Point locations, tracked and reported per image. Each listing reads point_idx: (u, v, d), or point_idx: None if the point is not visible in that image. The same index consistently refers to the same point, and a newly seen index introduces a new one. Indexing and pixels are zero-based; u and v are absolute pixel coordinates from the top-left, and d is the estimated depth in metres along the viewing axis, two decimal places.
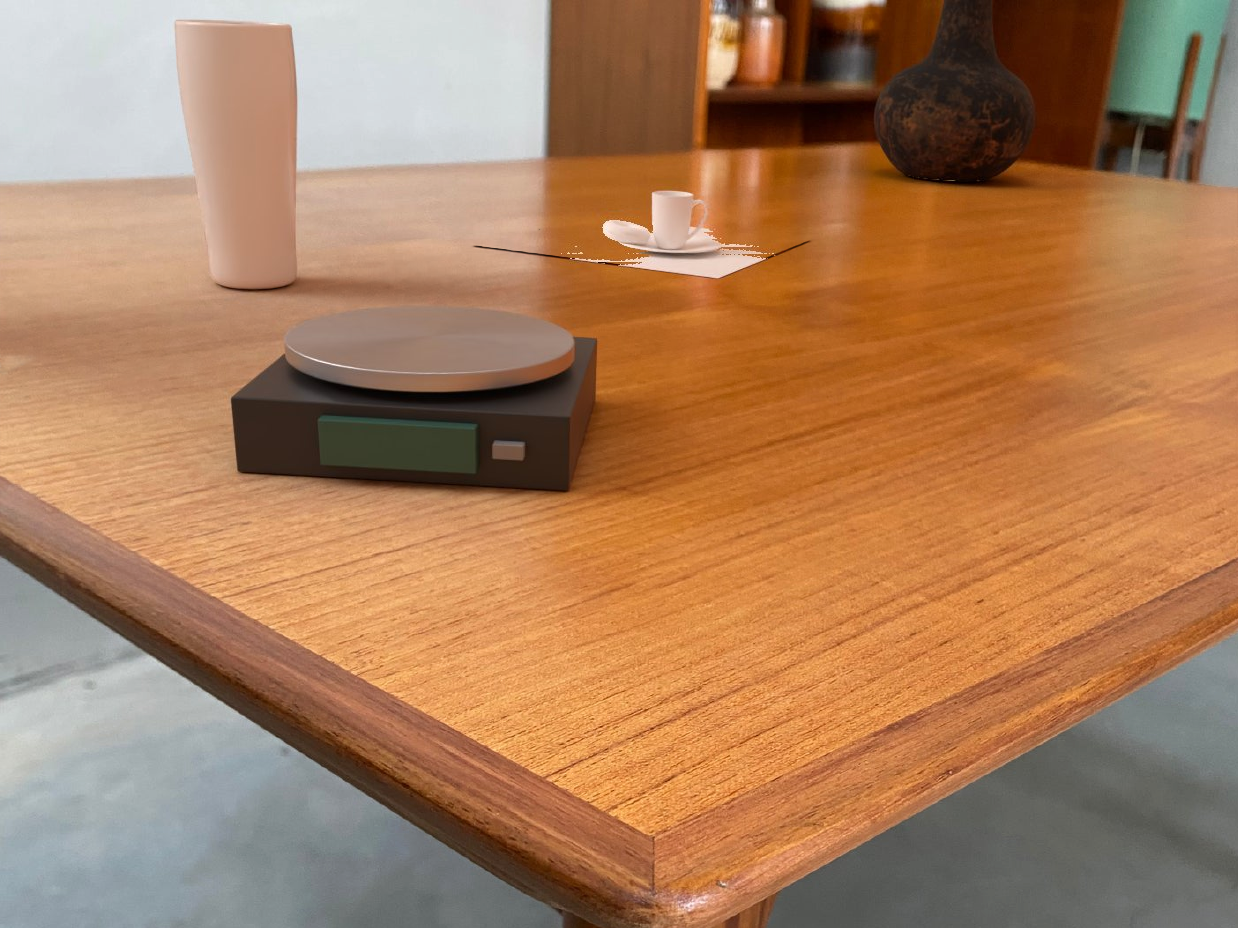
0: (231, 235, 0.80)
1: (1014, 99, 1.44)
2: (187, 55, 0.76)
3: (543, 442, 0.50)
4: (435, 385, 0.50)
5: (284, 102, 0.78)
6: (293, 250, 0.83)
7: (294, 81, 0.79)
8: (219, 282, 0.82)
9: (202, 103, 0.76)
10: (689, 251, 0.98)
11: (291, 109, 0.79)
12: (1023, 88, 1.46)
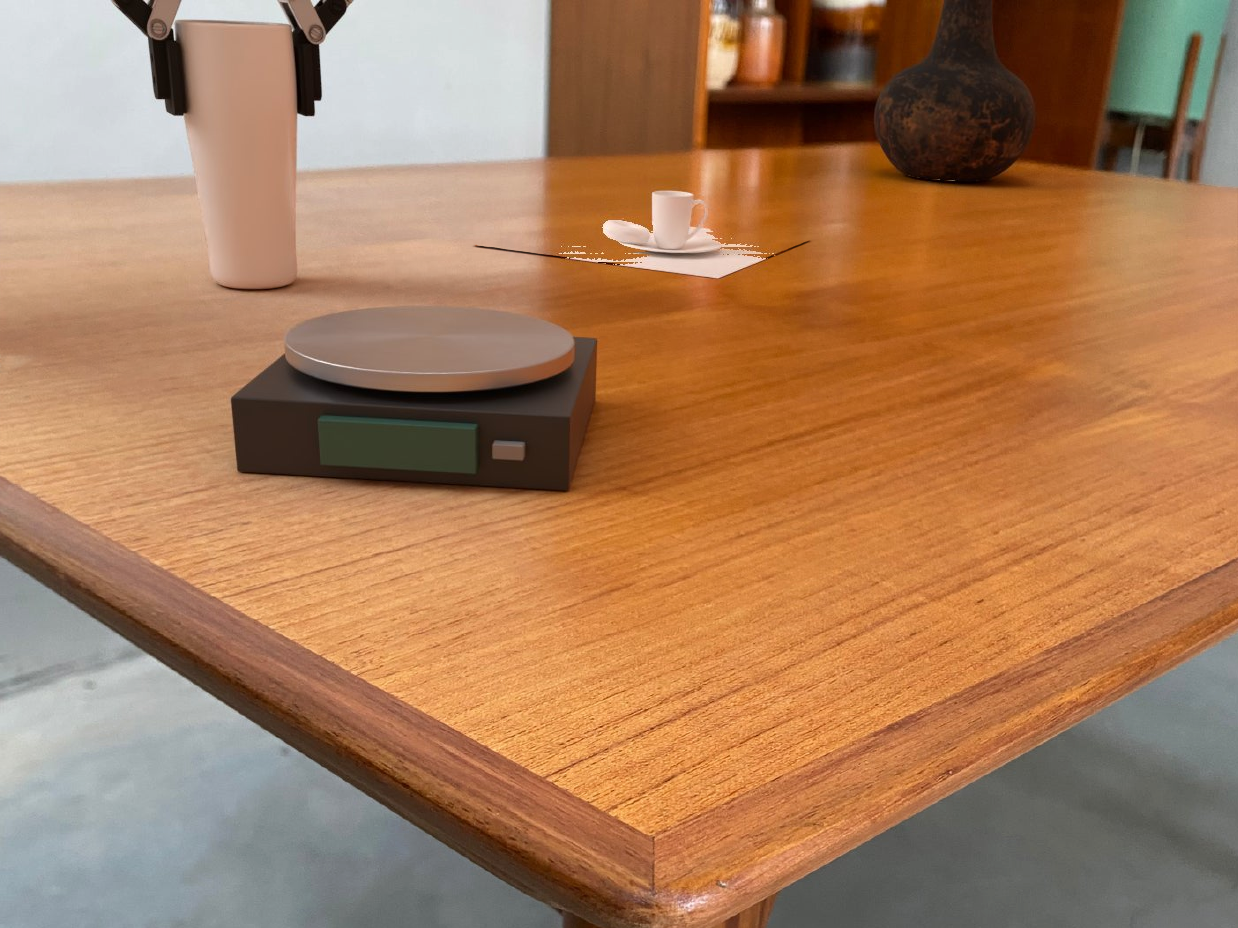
0: (231, 235, 0.80)
1: (1014, 99, 1.44)
2: (187, 55, 0.76)
3: (543, 442, 0.50)
4: (435, 385, 0.50)
5: (284, 102, 0.78)
6: (293, 250, 0.83)
7: (294, 81, 0.79)
8: (219, 282, 0.82)
9: (202, 103, 0.76)
10: (689, 251, 0.98)
11: (291, 109, 0.79)
12: (1023, 88, 1.46)
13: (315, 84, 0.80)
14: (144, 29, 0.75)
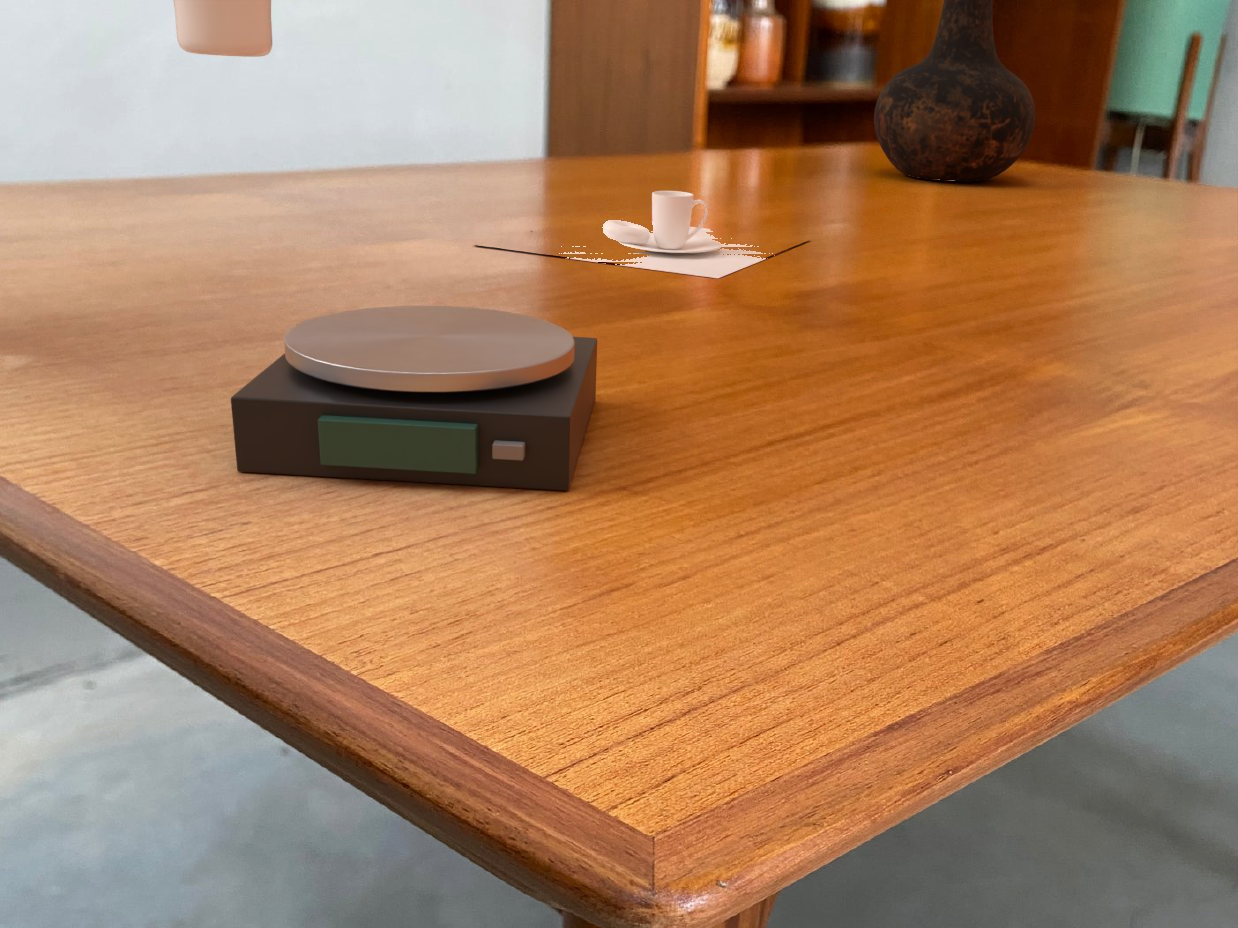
0: None
1: (1014, 99, 1.44)
2: None
3: (543, 442, 0.50)
4: (435, 385, 0.50)
5: None
6: (268, 16, 0.77)
7: None
8: (187, 47, 0.76)
9: None
10: (689, 251, 0.98)
11: None
12: (1023, 88, 1.46)
13: None
14: None
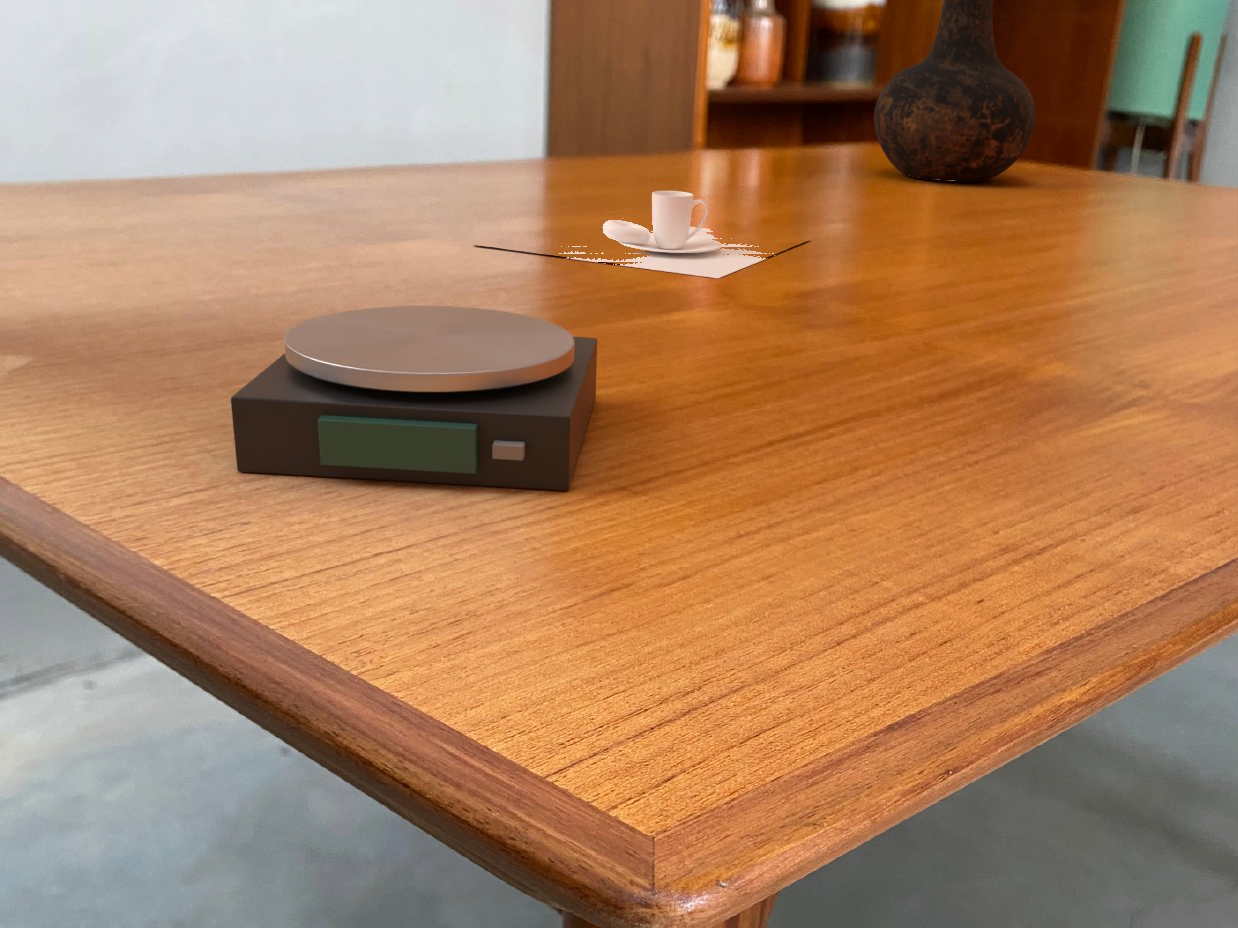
0: None
1: (1014, 99, 1.44)
2: None
3: (543, 442, 0.50)
4: (435, 385, 0.50)
5: None
6: None
7: None
8: None
9: None
10: (689, 251, 0.98)
11: None
12: (1023, 88, 1.46)
13: None
14: None
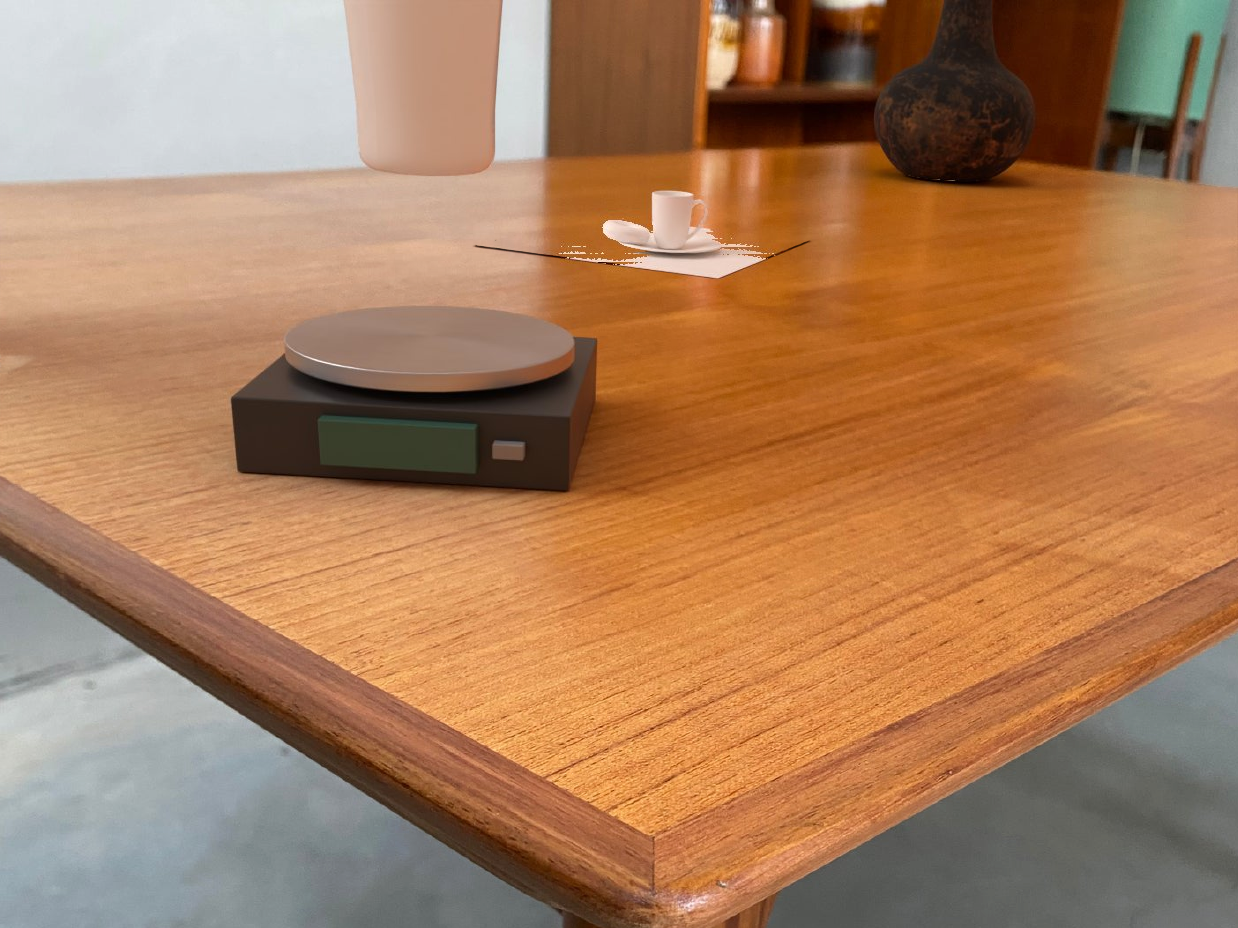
0: (403, 82, 0.49)
1: (1014, 99, 1.44)
2: None
3: (543, 442, 0.50)
4: (435, 385, 0.50)
5: None
6: (493, 115, 0.51)
7: None
8: (377, 165, 0.51)
9: None
10: (689, 251, 0.98)
11: None
12: (1023, 88, 1.46)
13: None
14: None
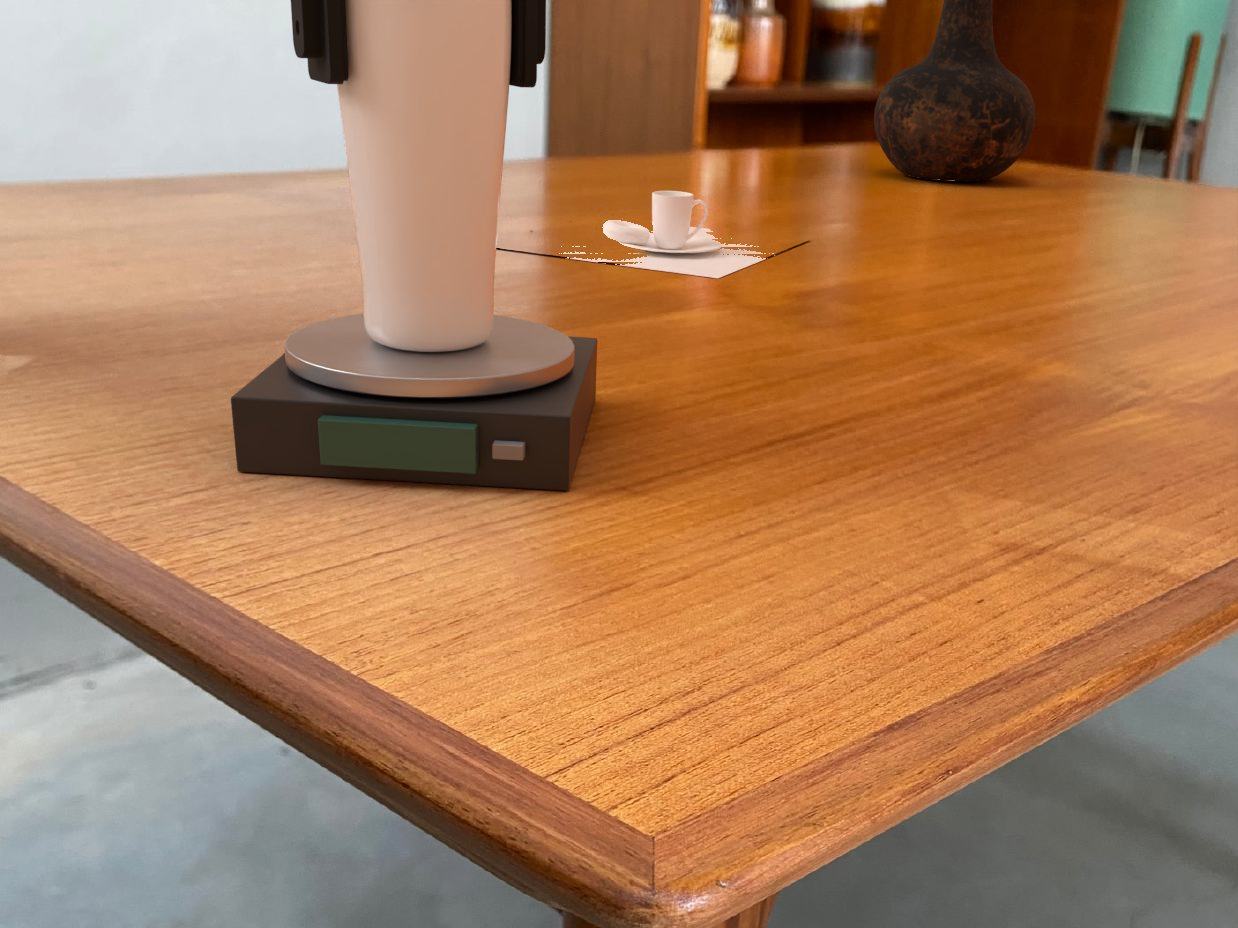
0: (407, 271, 0.52)
1: (1014, 99, 1.44)
2: None
3: (543, 442, 0.50)
4: (435, 391, 0.50)
5: (497, 64, 0.50)
6: (492, 292, 0.54)
7: (510, 31, 0.50)
8: (382, 342, 0.54)
9: (374, 64, 0.48)
10: (689, 251, 0.98)
11: (505, 75, 0.50)
12: (1023, 88, 1.46)
13: (536, 38, 0.52)
14: None
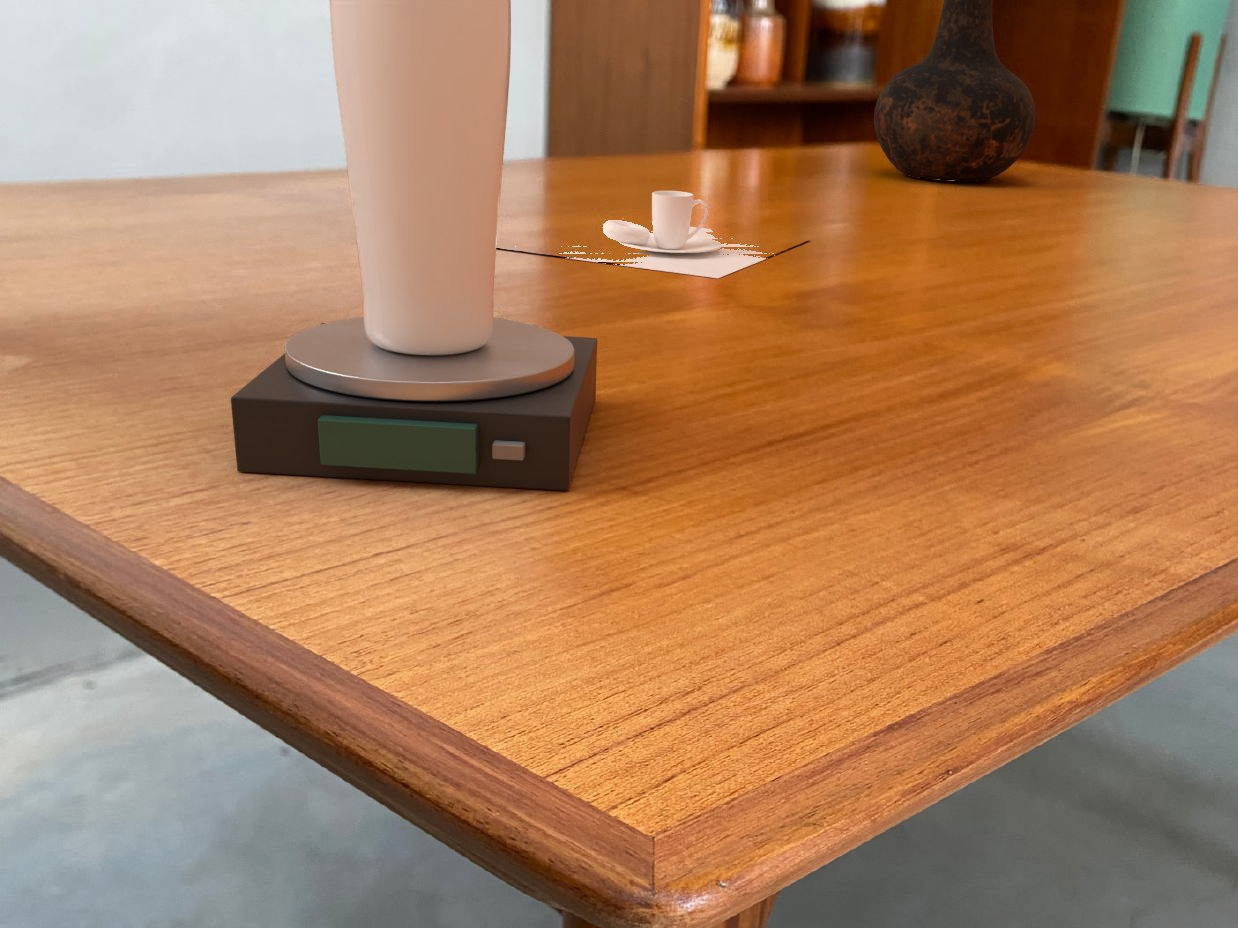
0: (406, 275, 0.52)
1: (1014, 99, 1.44)
2: None
3: (543, 442, 0.50)
4: (435, 394, 0.50)
5: (496, 68, 0.50)
6: (492, 295, 0.54)
7: (510, 35, 0.50)
8: (382, 345, 0.54)
9: (373, 68, 0.48)
10: (689, 251, 0.98)
11: (504, 79, 0.50)
12: (1023, 88, 1.46)
13: None
14: None
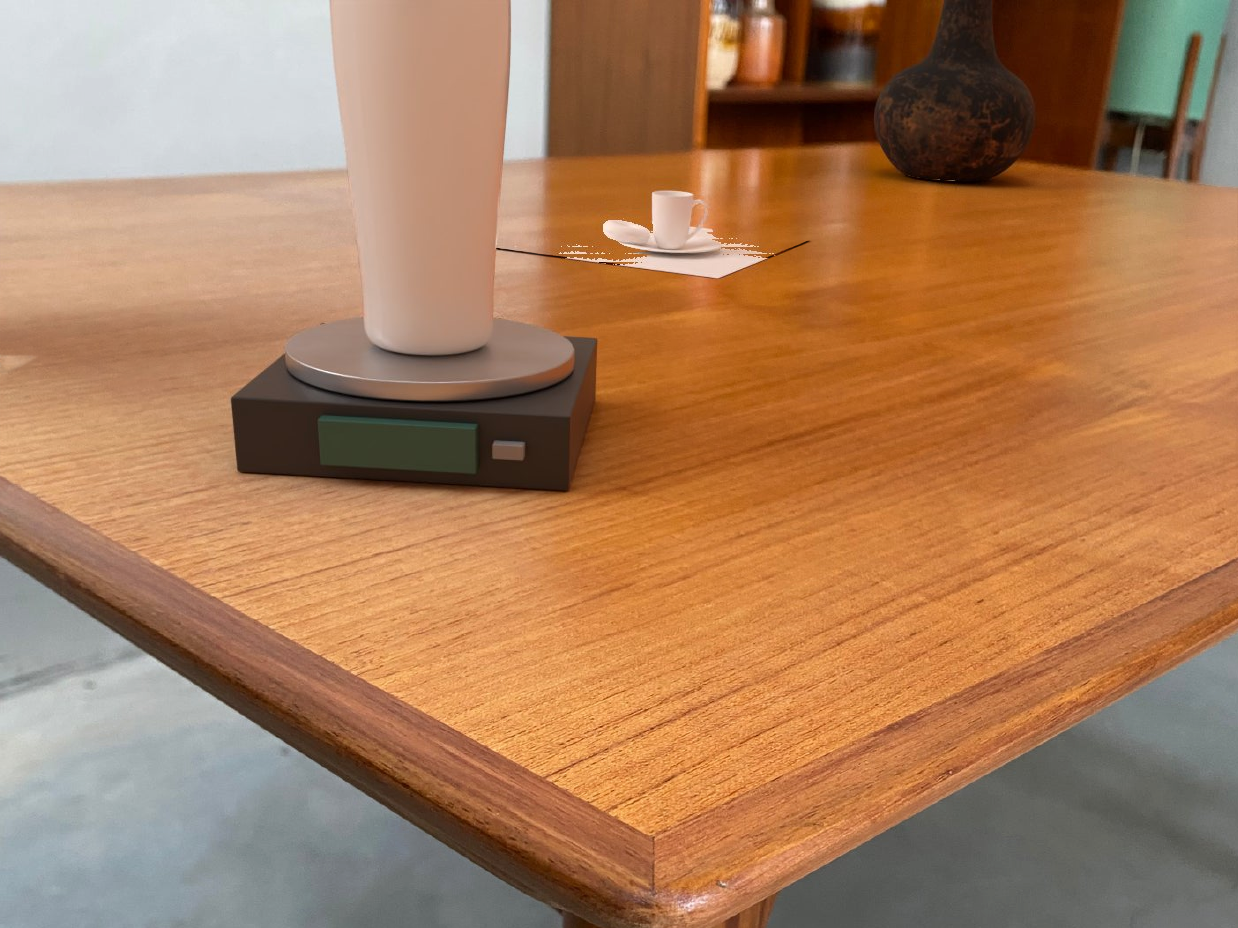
0: (406, 275, 0.52)
1: (1014, 99, 1.44)
2: None
3: (543, 442, 0.50)
4: (435, 394, 0.50)
5: (496, 68, 0.50)
6: (492, 295, 0.54)
7: (510, 35, 0.50)
8: (382, 345, 0.54)
9: (373, 68, 0.48)
10: (689, 251, 0.98)
11: (504, 79, 0.50)
12: (1023, 88, 1.46)
13: None
14: None
